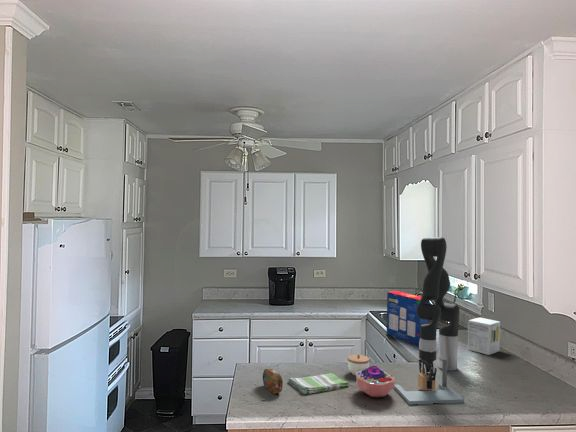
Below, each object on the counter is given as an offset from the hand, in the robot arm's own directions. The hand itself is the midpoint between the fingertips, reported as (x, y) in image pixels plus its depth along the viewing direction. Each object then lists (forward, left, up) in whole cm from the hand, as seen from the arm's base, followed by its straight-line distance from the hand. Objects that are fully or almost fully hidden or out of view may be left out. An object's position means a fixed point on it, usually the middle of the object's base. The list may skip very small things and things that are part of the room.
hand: (426, 386), depth 204 cm
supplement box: (-55, +60, -2) cm, 81 cm away
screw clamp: (+5, -2, -2) cm, 6 cm away
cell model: (+2, -25, -2) cm, 25 cm away
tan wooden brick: (0, 0, -1) cm, 1 cm away
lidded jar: (-23, -25, -2) cm, 34 cm away
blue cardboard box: (-80, +23, -2) cm, 83 cm away
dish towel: (-11, -47, -3) cm, 49 cm away
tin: (-6, -69, -2) cm, 69 cm away
